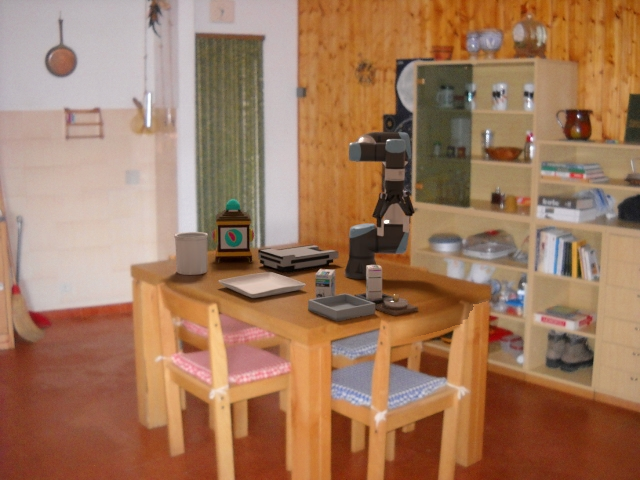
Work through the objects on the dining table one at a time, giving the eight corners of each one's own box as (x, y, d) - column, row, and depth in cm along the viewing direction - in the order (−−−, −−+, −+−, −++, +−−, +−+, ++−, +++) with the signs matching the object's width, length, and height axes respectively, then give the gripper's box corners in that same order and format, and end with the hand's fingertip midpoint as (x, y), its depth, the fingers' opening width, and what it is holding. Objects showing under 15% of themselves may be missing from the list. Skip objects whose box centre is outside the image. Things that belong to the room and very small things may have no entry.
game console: (338, 265, 370) (338, 249, 369) (283, 274, 351) (283, 257, 350) (312, 258, 386) (312, 242, 385) (258, 266, 367) (258, 249, 366)
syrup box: (382, 304, 303) (383, 267, 300) (367, 304, 302) (368, 268, 299) (380, 300, 308) (380, 264, 306) (365, 300, 308) (366, 264, 305)
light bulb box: (331, 301, 305) (331, 275, 303) (314, 300, 307) (314, 274, 305) (335, 295, 316) (335, 269, 314) (319, 294, 317) (319, 268, 315)
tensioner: (353, 301, 306) (353, 286, 305) (376, 296, 313) (376, 282, 312) (393, 315, 287) (394, 300, 285) (417, 310, 293) (418, 295, 292)
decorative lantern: (253, 255, 392) (252, 196, 387) (255, 263, 373) (254, 201, 367) (213, 255, 389) (212, 196, 384) (213, 264, 370) (212, 202, 365)
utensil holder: (173, 269, 359) (172, 232, 356) (205, 267, 363) (204, 230, 360) (177, 276, 345) (176, 237, 342) (211, 274, 350) (210, 236, 346)
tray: (308, 310, 293) (308, 299, 292) (345, 303, 303) (346, 293, 303) (336, 321, 279) (336, 310, 278) (375, 313, 289) (375, 303, 288)
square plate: (217, 288, 326) (216, 279, 326) (271, 279, 343) (270, 270, 342) (251, 302, 305) (251, 292, 305) (307, 292, 322) (307, 282, 321)
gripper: (377, 182, 288) (375, 238, 292) (424, 178, 303) (422, 231, 307) (363, 180, 294) (362, 235, 298) (411, 176, 309) (409, 229, 313)
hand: (393, 233), depth 302 cm, fingers open, 13 cm apart
